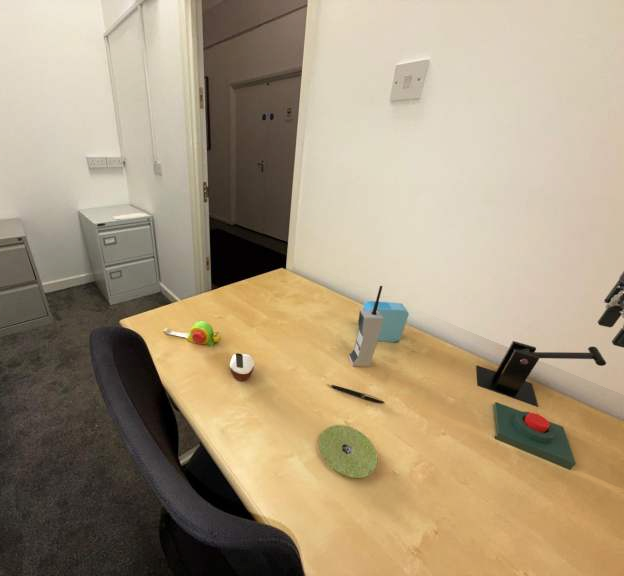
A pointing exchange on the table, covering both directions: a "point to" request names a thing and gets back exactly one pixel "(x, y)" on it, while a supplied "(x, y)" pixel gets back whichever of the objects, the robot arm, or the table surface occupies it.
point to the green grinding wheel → (348, 451)
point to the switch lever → (570, 355)
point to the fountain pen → (357, 394)
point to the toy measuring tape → (198, 334)
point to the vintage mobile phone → (367, 335)
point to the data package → (390, 319)
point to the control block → (532, 436)
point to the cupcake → (241, 366)
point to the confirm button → (536, 422)
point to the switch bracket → (511, 374)
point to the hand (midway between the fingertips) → (611, 335)
